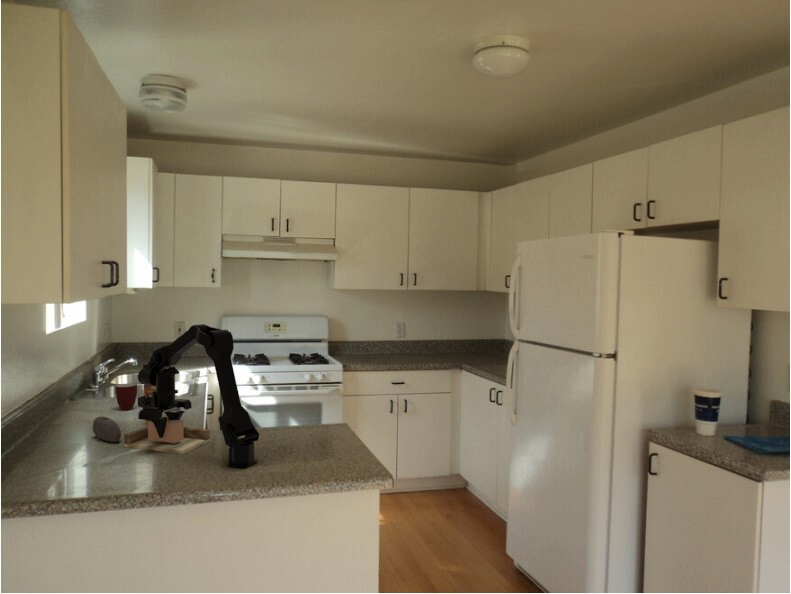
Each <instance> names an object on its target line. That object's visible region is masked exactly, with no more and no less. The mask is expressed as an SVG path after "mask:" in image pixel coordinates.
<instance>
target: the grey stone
mask: <svg viewBox="0 0 791 594" xmlns="http://www.w3.org/2000/svg"><path fill="white" fill-rule="evenodd" d="M92 432H93V434H94V435H95V436H96V437H98V439H100V440H104V441H107V442H111V443H116V442H119V440H120V439H121V436H122V430H121V428H120V425H118V423H116V422H115V421H114V419H112V418H110V417H107V416H97V417H96V418H95V419H94V420H93V424H92Z"/></svg>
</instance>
